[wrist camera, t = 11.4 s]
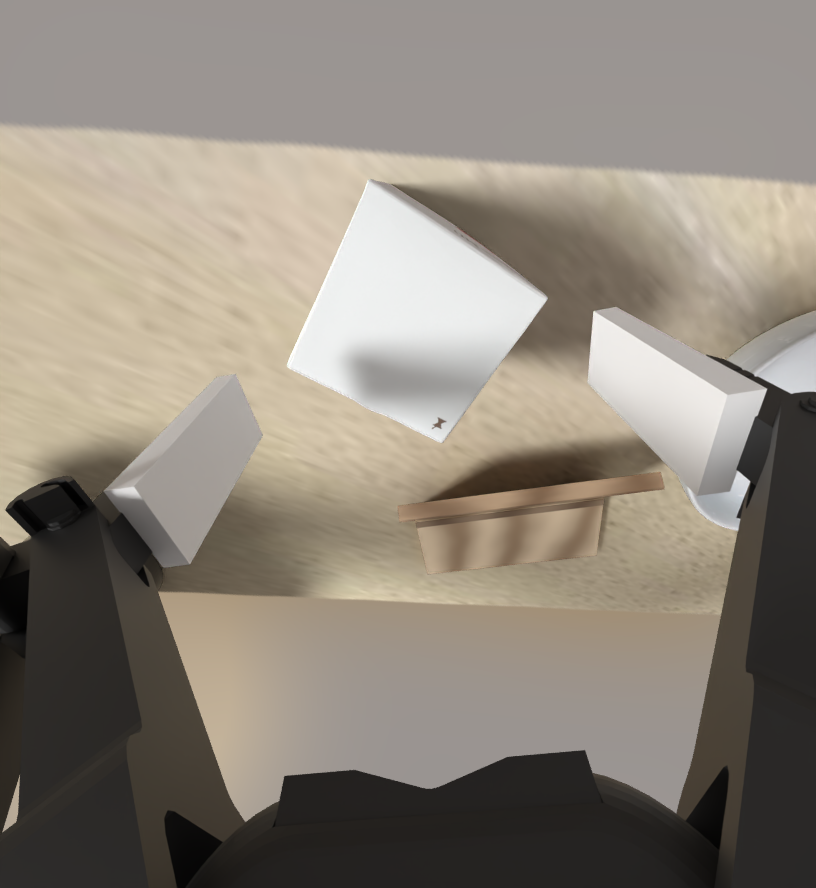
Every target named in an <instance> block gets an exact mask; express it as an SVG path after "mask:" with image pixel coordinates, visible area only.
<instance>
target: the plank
mask: <svg viewBox="0 0 816 888" xmlns="http://www.w3.org/2000/svg"><path fill="white" fill-rule="evenodd" d="M664 488H665V487H664V484H663V480H662V476H661V472H655V473H647V474H639V475H632V476H624V477H616V478H609V479H601V480H593V481H585V482H578V483H570V484H562V485H555V486H547V487H539V488H531V489H524V490H516V491H508V492H501V493H493V494H485V495H478V496H470V497H462V498H454V499H447V500H439V501H431V502H424V503H416V504H408V505H400V506H398V514H399V521H400V522H407V521H415V520H423V519H431V518H439V517H447V516H455V515H463V514H471V513H479V512H486V511H494V510H502V509H510V508H518V507H526V506H534V505H542V504H550V503H558V502H566V501H574V500H582V499H590V498H598V497H606V496H614V495H622V494H630V493H638V492H646V491H654V490H662V489H664Z"/></svg>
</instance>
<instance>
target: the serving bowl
mask: <svg viewBox="0 0 816 888" xmlns="http://www.w3.org/2000/svg"><path fill="white" fill-rule="evenodd" d="M726 360H727V361H729V362H731V363H733V364H735V365H737V366H739V367H741V368H742V370H747V371H749V372H750V373H752V374H754V376H755V377H756V376H758V377H760V378H762V379H764V380H766V381H768V382H770V383H772V384H774V385H775V386H777V387H779V388H781V389H783V390H785V391H787V392H789V393H791V394H793V393H799V392H816V310H815V311H812V312H809V313H806V314H804V315H801V316H798V317H796V318H793V319H791V320H789V321H786V322H784V323H782V324H780V325H778V326H776V327H774V328H772V329H770V330H768V331H766V332H765V333H763V334H761V335H759V336H758V337H756V338H755V339H753V340H752V341H750V342H749V343H747V344H746V345H744V346H743V347H741V348H740V349H738V350H737V351H736V352H735V353H733V354H732V355H731V356H730V357H729V358H727V359H726ZM678 478H679V477H678ZM679 480H680V483H681V485H682V487H683V489H684V491H685V493H686V495H687V496H688V498H689V500H690V501H691V503H692V504H693V506H694V507H695V508H696V510H697V511H698V512H699V513H700V514H701V515H702V516H704V517H705V518H706V519H708V520H709V521H711V522H713V523H715V524H717V525H719V526H722V527H724V528H728V529H732V530H736V531H738V528H739V523H740V519H739V518H736V517H737V514H738V511H739V509H740V506H741V504H742V501H743V499H744V496H745V494H746V491H747V489H748V486H749V483H750V481H749V480H748V479H747V478H746V477H745V476H743V475H742V474H741V473H740V472H739V471H737V474H736V477H735V479H734V482H733V485H732V488H731V490H730V492H723V493H716V494H709V495H701V496H696V495H695V494H694V493H693V492H692V491H691V489H690V488H689V487H688V486H687V485H686V484H685V483H684V482H683V481H682V480H681V479H680V478H679Z"/></svg>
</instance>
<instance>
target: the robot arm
mask: <svg viewBox="0 0 816 888" xmlns="http://www.w3.org/2000/svg"><path fill="white" fill-rule="evenodd" d="M588 384H589V385H590V386H591V387H592V388H593V389H594V390H595V391H596V392H597V393H598V394H599V395H600V396H601V397H602V398H603V399H604V401H605V402H606V403H607V404H608V405H609V406H610V407H611V408H612V409H613V410H614V411H615V412H616V413H617V414H618V415H619V416H620V417H621V418H622V419H623V420H624V421H625V422H626V423H627V424H628V425H629V426H630V427H631V428H632V429H633V431H634V432H635V433H636V434H637V435H638V436H639V437H640V438H641V439H642V440H643V441H644V442H645V443H646V444H647V445H648V446H649V447H650V448H651V449H652V450H653V451H654V452H655V453H656V454H657V455H658V456H659V457H660V458H661V459H662V461H663V462H664V463H665V464H666V465H667V466H668V467H669V468H670V469H671V470H672V471H673V472H674V473H675V474H676V475H677V476H678V477H679V478H680V479H681V480H682V481H683V482H684V483H685V484H686V485H687V486H688V487H689V488H690V489H691V491H692V492H693V493H694V494H695V495H696V496H701V495H709V494H716V493H723V492H730V490H731V488H732V485H733V482H734V479H735V477H736V474H737V471H739V472H740V473H741V474H742V475H743V476H745V477H746V478H747V479H748V480H749V481H750V483H749V486H748V489H747V491H746V494H745V496H744V499H743V501H742V504H741V506H740V509H739V511H738V514H737V517H736V518H739V519H740V523H739V528H738V534H737V539H736V544H735V549H734V554H733V559H732V564H731V569H730V574H729V579H728V584H727V589H726V594H725V599H724V604H723V609H722V614H721V619H720V624H719V629H718V634H717V639H716V644H715V649H714V655H713V659H712V664H711V669H710V674H709V679H708V684H707V690H706V694H705V699H704V704H703V709H702V714H701V719H700V724H699V729H698V734H697V739H696V744H695V749H694V754H693V758H692V762H691V766H690V769H689V772H688V775H687V778H686V781H685V784H684V787H683V790H682V794H681V798H680V801H679V805H678V809H677V813H674V812H673V811H672V810H670V809H669V808H667V807H666V806H664V805H663V804H661V803H660V802H658V801H656V800H655V799H653V798H652V797H650V796H649V795H647V794H645V793H643V792H640V791H639V790H637V789H635V788H633V787H631V786H629V785H627V784H625V783H622V782H619V781H617V780H614V779H611V778H609V777H606V776H603V775H598V774H595V773H592V770H591V767H590V764H589V761H588V758H587V755H586V752H585V750H583V751H571V752H560V753H548V754H537V755H524V756H513V757H506V758H504V759H502V760H500V761H497V762H495V763H493V764H490V765H488V766H486V767H484V768H481V769H479V770H477V771H474V772H472V773H470V774H468V775H465V776H463V777H461V778H459V779H456V780H454V781H452V782H449V783H447V784H445V785H443V786H440V787H437V788H433V789H425V788H420V787H417V786H413V785H409V784H405V783H401V782H398V781H394V780H390V779H386V778H383V777H379V776H375V775H371V774H367V773H363V772H360V771H356V770H349V771H337V772H327V773H314V774H302V775H291V776H285V777H284V781H283V786H282V792H281V796H280V801H279V802H276V803H274V804H272V805H271V806H269V807H267V808H266V809H264V810H262V811H261V812H259V813H257V814H256V815H255V816H253V817H252V818H251V819H249V820H248V821H247V822H245V821H244V820H243V818H242V817H241V815H240V814H239V812H238V811H237V809H236V807H235V806H234V804H233V802H232V800H231V798H230V796H229V794H228V791H227V789H226V786H225V783H224V780H223V778H222V775H221V772H220V769H219V766H218V763H217V760H216V757H215V754H214V752H213V749H212V746H211V743H210V740H209V737H208V734H207V732H206V729H205V726H204V723H203V720H202V717H201V714H200V712H199V709H198V706H197V703H196V700H195V698H194V694H193V691H192V689H191V686H190V683H189V680H188V677H187V675H186V671H185V669H184V666H183V663H182V660H181V657H180V654H179V651H178V648H177V646H176V643H175V640H174V637H173V634H172V631H171V628H170V625H169V623H168V620H167V617H166V614H165V611H164V608H163V605H162V603H161V600H160V597H159V594H158V590H159V588H160V587H161V584H162V581H163V574H162V570H161V567H160V565H159V563H160V564H161V565H162V567H163V568H167V567H175V566H182V565H189V564H191V562H192V560H193V558H194V556H195V555H196V553H197V551H198V549H199V548H200V546H201V544H202V542H203V540H204V539H205V537H206V535H207V533H208V532H209V530H210V528H211V526H212V525H213V523H214V521H215V519H216V517H217V516H218V514H219V512H220V510H221V509H222V507H223V505H224V503H225V502H226V500H227V498H228V496H229V494H230V493H231V491H232V489H233V487H234V486H235V484H236V482H237V480H238V479H239V477H240V475H241V473H242V471H243V470H244V468H245V466H246V464H247V463H248V461H249V459H250V457H251V455H252V454H253V452H254V450H255V448H256V447H257V445H258V443H259V441H260V440H261V438H262V436H263V434H262V432H261V430H260V428H259V425H258V423H257V421H256V419H255V416H254V414H253V412H252V410H251V407H250V405H249V403H248V401H247V398H246V396H245V394H244V392H243V389H242V387H241V385H240V383H239V380H238V378H237V376H236V374H232V375H226V376H220V377H216V378H215V379H214V380H213V381H212V382H211V383H210V384H209V385H208V386H207V387H206V388H205V389H204V390H203V391H202V392H201V393H200V394H199V395H198V396H197V397H196V398H195V399H194V400H193V401H192V402H191V403H190V404H189V405H188V406H187V407H186V408H185V409H184V410H183V411H182V412H181V413H180V414H179V415H178V416H177V417H176V418H175V419H174V420H173V421H172V422H171V423H170V424H169V425H168V426H167V427H166V428H165V430H164V431H163V432H162V433H161V434H160V435H159V436H158V437H157V438H156V439H155V440H154V441H153V442H152V443H151V444H150V445H149V446H148V447H147V448H146V449H145V450H144V451H143V452H142V453H141V454H140V455H139V456H138V457H137V458H136V459H135V460H134V461H133V462H132V463H131V464H130V465H129V466H128V467H127V468H126V469H125V470H124V471H123V472H122V473H121V474H120V475H119V476H118V477H117V478H116V479H115V480H114V481H113V482H112V483H111V484H110V485H109V486H108V487H107V488H106V489H105V490H104V491H103V492H102V493H101V494H100V495H99V496H98V497H97V498H96V499H95V500H94V501H93V502H92V501H91V499H90V498H89V497H88V496H87V495H86V493H85V492H84V491H83V490H82V488H81V487H80V486H79V485H78V484H77V482H76V481H75V480H74V479H73V478H72V477H69V476H63V477H58V478H54V479H51V480H48V481H45V482H43V483H40V484H38V485H36V486H34V487H32V488H30V489H28V490H27V491H25V492H24V493H22V494H20V495H19V496H17V497H16V498H15V499H14V500H13V501H12V502H10V503H9V504H8V506H7V508H6V510H5V511H6V512H7V513H8V514H9V515H10V516H11V517H12V518H13V519H14V520H15V521H16V522H17V523H18V524H19V525H20V526H21V527H22V528H23V529H24V530H25V531H26V532H27V533H28V534H29V535H30V536H29V537H27V538H26V539H25V540H24V541H23V542H22V543H19V544H16V545H13V546H9V545H8V544H7V543H6V542H5V541H4V540H3V539H2V538H1V537H0V888H816V392H799V393H793V394H791V393H789V392H787V391H785V390H783V389H781V388H779V387H777V386H775V385H774V384H772V383H770V382H768V381H766V380H764V379H762V378H760V377H758V376H756V377H755V376H754V374H752V373H750V372H749V371H747V370H742V368H741V367H739V366H737V365H735V364H733V363H731V362H729V361H727V360H724V359H720V358H716V357H713V356H709V355H704V354H702V353H700V352H699V351H697V350H695V349H693V348H691V347H689V346H687V345H686V344H684V343H682V342H680V341H678V340H676V339H675V338H673V337H671V336H669V335H667V334H665V333H663V332H662V331H660V330H658V329H656V328H654V327H652V326H651V325H649V324H647V323H645V322H643V321H641V320H639V319H638V318H636V317H634V316H632V315H630V314H628V313H627V312H625V311H623V310H621V309H619V308H617V307H613V308H607V309H601V310H596V311H594V312H593V324H592V335H591V347H590V359H589V371H588ZM152 554H153V555H154V556H155V558H156V559H157V560H158V562H159V563H158V562H157V560H156V559H155V558H154V556H153V555H152ZM19 775H20V786H19V808H18V817H17V821H16V823H15V824H13V825H12V826H11V827H9V828H8V829H7V830H5V831H4V832H3V833H2V831H3V828H4V825H5V821H6V818H7V815H8V811H9V808H10V805H11V802H12V798H13V795H14V791H15V788H16V785H17V782H18V778H19Z"/></svg>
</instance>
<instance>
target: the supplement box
mask: <svg viewBox="0 0 816 888" xmlns="http://www.w3.org/2000/svg"><path fill="white" fill-rule="evenodd" d="M547 299H548V297H547V296H546V295H545V294H544V293H543V292H542V291H540V290H539V289H538V288H537V287H535V286H534V285H533V284H532V283H530V282H529V281H528V280H527V279H525V278H524V277H523V276H522V275H520V274H519V273H518V272H517V271H515V270H514V269H513V268H512V267H510V266H509V265H508V264H506V263H505V262H504V261H503V260H501V259H500V258H499V257H498V256H496V255H495V254H494V253H493V252H491V251H490V250H489V249H487V248H486V247H484V246H483V245H482V244H480V243H479V242H478V241H476V240H475V239H474V238H472V237H471V236H469V235H468V234H467V233H465V232H464V231H462V230H461V229H460V228H458V227H457V226H455V225H454V224H452V223H451V222H449V221H447V220H446V219H444V218H443V217H441V216H440V215H438V214H437V213H435V212H434V211H432V210H430V209H429V208H427V207H426V206H424V205H422V204H421V203H419V202H418V201H416V200H414V199H413V198H411V197H410V196H408V195H406V194H405V193H403V192H402V191H400V190H399V189H397V188H396V187H394V186H393V185H391V184H388V183H384V182H379V181H375V180H372V179H368V182H367V184H366V187H365V190H364V192H363V195H362V197H361V200H360V202H359V204H358V206H357V209H356V211H355V213H354V215H353V218H352V220H351V222H350V224H349V227H348V229H347V231H346V233H345V236H344V238H343V240H342V242H341V245H340V247H339V249H338V251H337V254H336V256H335V258H334V260H333V263H332V265H331V267H330V269H329V271H328V274H327V276H326V278H325V280H324V283H323V285H322V287H321V289H320V292H319V294H318V296H317V298H316V301H315V303H314V305H313V307H312V309H311V312H310V314H309V316H308V318H307V320H306V322H305V325H304V327H303V329H302V331H301V334H300V336H299V338H298V340H297V342H296V345H295V347H294V349H293V351H292V354H291V356H290V358H289V361H288V363H287V367H288V368H289V369H291V370H293V371H295V372H297V373H299V374H301V375H303V376H305V377H307V378H309V379H311V380H313V381H315V382H317V383H319V384H321V385H323V386H325V387H328V388H330V389H332V390H334V391H336V392H338V393H340V394H342V395H344V396H346V397H348V398H350V399H352V400H354V401H356V402H357V403H358V404H360V405H361V406H363V407H365V408H367V409H369V410H371V411H373V412H376V413H379V414H382V415H384V416H386V417H389V418H391V419H393V420H395V421H397V422H399V423H401V424H403V425H405V426H407V427H409V428H411V429H413V430H415V431H417V432H419V433H421V434H423V435H425V436H427V437H429V438H431V439H433V440H435V441H437V442H440V443H443V442H444V441H445V439H446V438H447V437H448V435H449V434H450V433H451V431H452V430H453V428H454V427H455V426H456V424H457V423H458V422H459V420H460V419H461V417H462V416H463V415H464V413H465V412H466V410H467V409H468V408H469V406H470V405H471V403H472V402H473V401H474V399H475V398H476V397H477V395H478V394H479V392H480V391H481V390H482V388H483V387H484V385H485V384H486V383H487V381H488V380H489V379H490V377H491V376H492V374H493V373H494V372H495V370H496V369H497V367H498V366H499V365H500V363H501V362H502V361H503V359H504V358H505V357H506V355H507V354H508V353H509V351H510V350H511V349H512V347H513V346H514V344H515V343H516V342H517V341H518V339H519V338H520V337H521V335H522V334H523V333H524V331H525V330H526V329H527V327H528V326H529V324H530V323H531V322H532V320H533V319H534V318H535V316H536V315H537V313H538V312H539V311H540V309H541V308H542V307H543V305H544V304H545V302H546V301H547Z"/></svg>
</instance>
